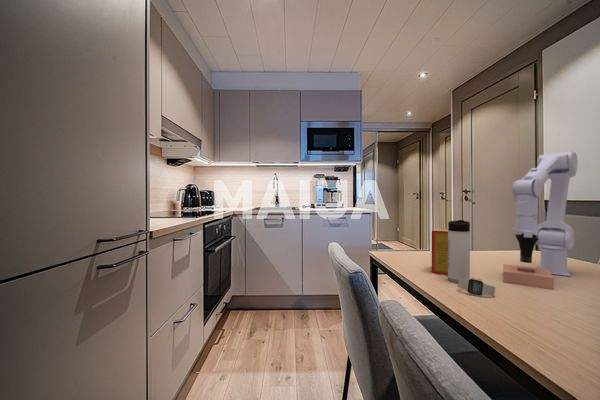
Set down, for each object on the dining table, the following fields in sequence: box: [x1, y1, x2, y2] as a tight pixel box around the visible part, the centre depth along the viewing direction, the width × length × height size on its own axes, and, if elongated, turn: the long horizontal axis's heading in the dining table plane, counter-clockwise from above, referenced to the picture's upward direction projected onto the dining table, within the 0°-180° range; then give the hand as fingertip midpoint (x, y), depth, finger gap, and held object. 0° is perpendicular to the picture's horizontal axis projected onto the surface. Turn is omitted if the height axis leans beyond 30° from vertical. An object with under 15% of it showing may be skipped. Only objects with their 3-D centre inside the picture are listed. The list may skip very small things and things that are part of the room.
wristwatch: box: [457, 276, 496, 298], centre depth 79 cm, size 9×6×5 cm
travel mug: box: [447, 219, 471, 284], centre depth 91 cm, size 6×7×20 cm
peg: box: [519, 248, 533, 264], centre depth 91 cm, size 3×3×7 cm
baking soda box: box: [431, 227, 448, 276], centre depth 102 cm, size 10×6×16 cm
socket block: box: [502, 263, 554, 290], centre depth 91 cm, size 12×12×4 cm
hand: (526, 256), depth 91 cm, fingers closed on peg, 3 cm apart
